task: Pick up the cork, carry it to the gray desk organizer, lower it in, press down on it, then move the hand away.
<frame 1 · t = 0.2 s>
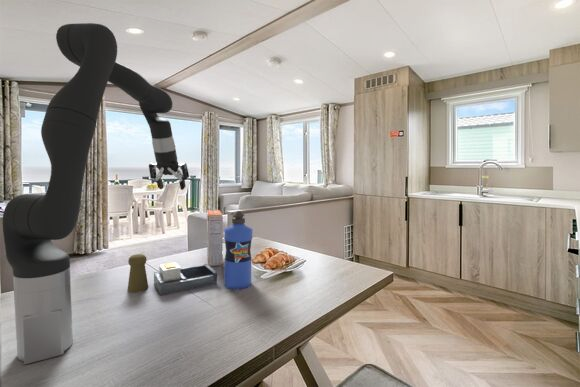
hand: (172, 188, 117), 31 cm above the table, tool tilted 20°, fingers open, 8 cm apart
water bottle: (237, 284, 102), on the table
gray desk organizer: (185, 283, 101), on the table
cork: (138, 289, 96), on the table
cracker box: (214, 261, 126), on the table
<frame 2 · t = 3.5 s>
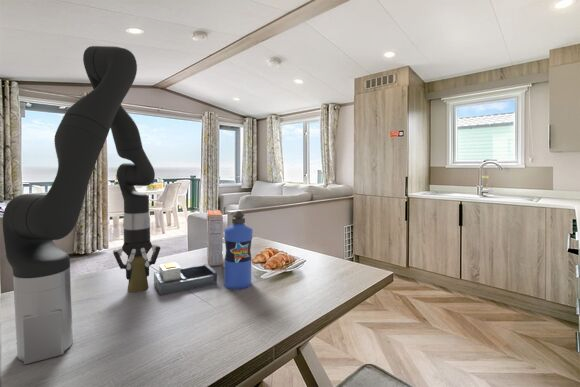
hand: (137, 278, 96), 3 cm above the table, tool pointing down, fingers closed on cork, 4 cm apart
cork: (138, 289, 96), on the table, touching gripper
everything else where it was.
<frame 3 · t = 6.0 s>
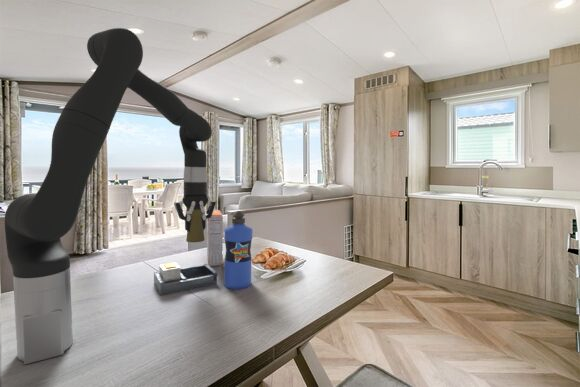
hand: (195, 230, 101), 18 cm above the table, tool pointing down, fingers closed on cork, 4 cm apart
cork: (195, 240, 102), point 14 cm above the table, touching gripper
everything else where it was.
when the fingers open (6 cm above the table, at t = 8.6 s): cork drops 1 cm, resting on gray desk organizer.
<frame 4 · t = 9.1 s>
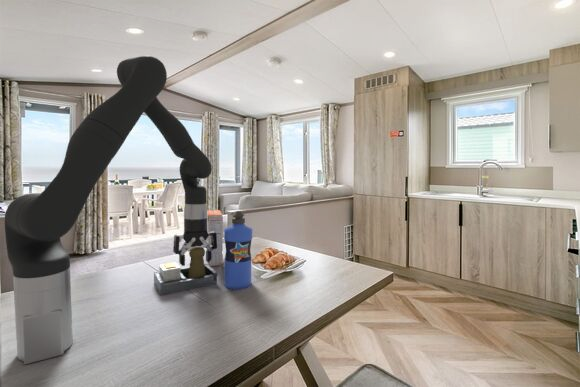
hand: (195, 263, 102), 7 cm above the table, tool pointing down, fingers open, 8 cm apart
cork: (197, 279, 103), point 1 cm above the table, touching gray desk organizer
everything else where it was.
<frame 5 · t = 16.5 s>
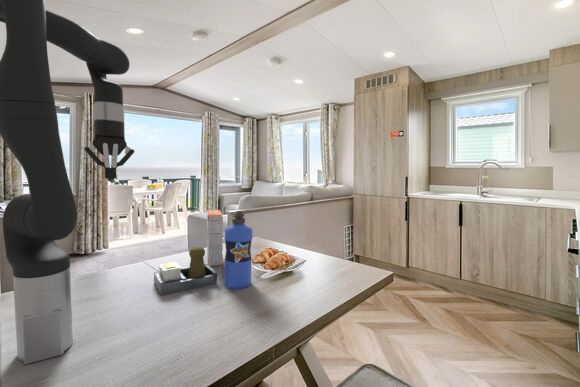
hand: (110, 180, 87), 35 cm above the table, tool pointing down, fingers closed
nothing on the table moved.
at the end: cork inside the target area on the gray desk organizer (0.4 cm from its centre), point 0.8 cm above the gray desk organizer's base; cork tilted 0°; the gripper is holding nothing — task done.
